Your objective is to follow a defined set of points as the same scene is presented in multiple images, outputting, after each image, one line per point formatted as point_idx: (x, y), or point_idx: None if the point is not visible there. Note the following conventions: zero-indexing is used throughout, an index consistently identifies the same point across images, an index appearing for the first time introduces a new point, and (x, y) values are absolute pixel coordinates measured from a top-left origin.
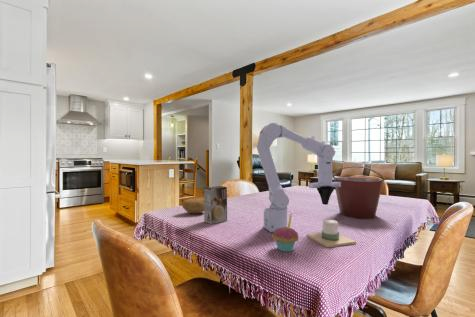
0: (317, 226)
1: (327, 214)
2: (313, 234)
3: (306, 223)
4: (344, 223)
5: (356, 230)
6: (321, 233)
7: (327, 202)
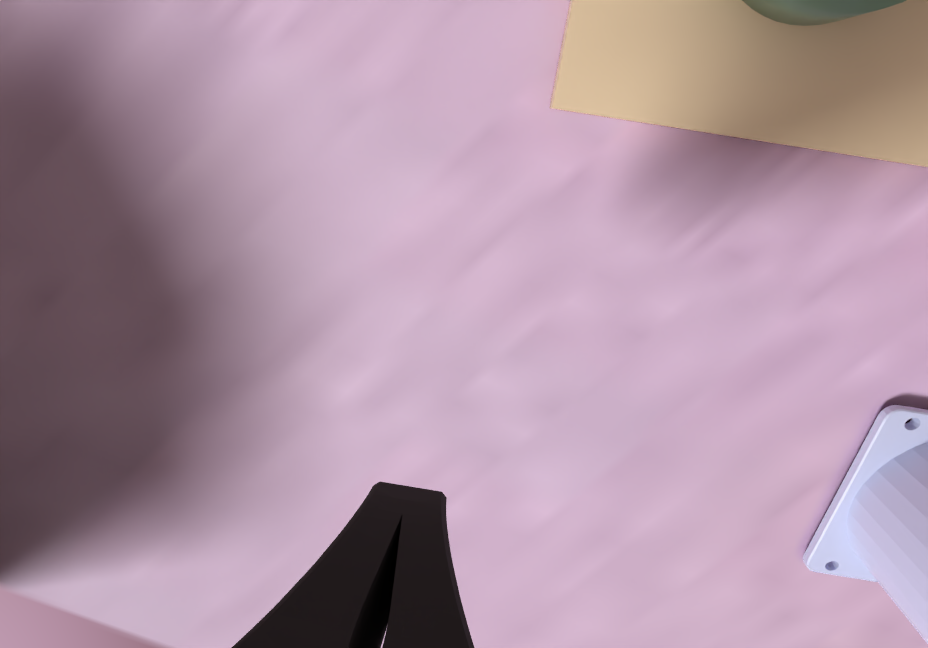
0: (507, 382)
1: (111, 608)
2: (895, 120)
3: (532, 500)
4: (141, 331)
5: (186, 62)
6: (767, 105)
7: (385, 509)
